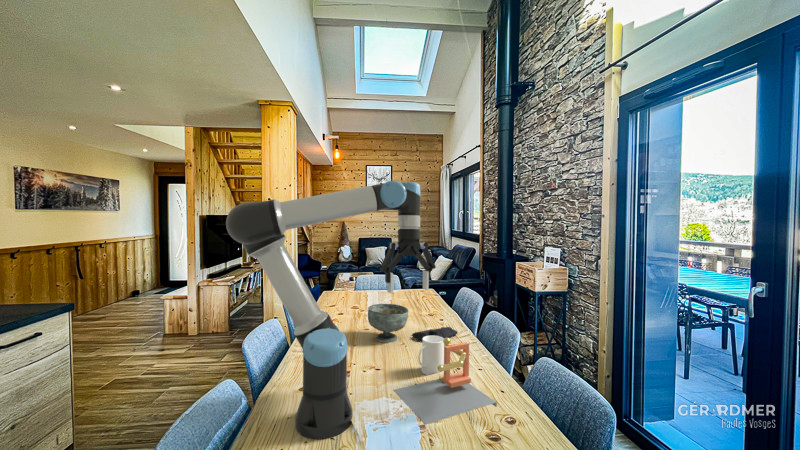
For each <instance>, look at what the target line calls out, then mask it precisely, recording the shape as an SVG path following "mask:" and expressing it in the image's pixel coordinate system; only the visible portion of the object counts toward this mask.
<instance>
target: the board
mask: <svg viewBox="0 0 800 450" xmlns="http://www.w3.org/2000/svg"><path fill="white" fill-rule="evenodd" d="M393 392H394V393H395V394H396V395H397V396H398V397H399V399H401V400H402V401H403V402H404V403H405V404H406V405H407V406H408V407H409V409H410V410H412V411H413V413H414V414H415V415H416V416H417V417H418V418H419V419H420V420H421V421H422V423H424V425H429V424H432V423H435V422H439V421H442V420H445V419H448V418H450V417H451V418H452V417H454V416H457V415H461V414H464V413H467V412H471V411H473V410H477V409H479V408H483V407H486V406H489V405H492V406H494V407H498V406H497V405H498V402H497V401H495V400H494V399H493V398H491V397H490V396H488V395H486V394H485V393H484V392H482V391H481V390H479V389H478V388H476V387H475V386H473V385H472V384H471V383H468V384H465V385H461V386H457V387H453V388H451V387H450V386H448V385H447V384H445V383H444V382H442V381H441V380H440V379H439V378H437V379H434V380H429V381H424V382H421V383H420V382H419V383H417V384H412V385H408V386H404V387H400V388H397V389H393Z"/></svg>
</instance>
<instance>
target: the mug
mask: <svg viewBox="0 0 800 450" xmlns="http://www.w3.org/2000/svg"><path fill="white" fill-rule="evenodd" d="M443 340H444V338H442V337H440V336H434V335H430V336H425V337H423V339H422V342H421V343H422V345H421V346H422V347H421V348H420V350H419V352H418V356H417V360H418V363H419V365H420V367H421V373H422V374H423V375H426V376H431V375H435V374H436V375H437V374H440V373H444V371H442V372H440V371H438V366H439V365H444V343H443ZM421 356H422V357H421Z"/></svg>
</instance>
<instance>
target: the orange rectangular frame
mask: <svg viewBox="0 0 800 450" xmlns="http://www.w3.org/2000/svg"><path fill="white" fill-rule="evenodd" d="M456 350H461V351H463V352H465V353H466V357H465V360H464V363H463V366H462V372H457V373H456V372H455V373H453V374H451V369H450V370H446V371H444V372H443V375H444V377H442V381H443V382H444V383H446V384H447V385H448V386H450V387H451V388H453V387H457V386H461V385H465V384H468V383H469V384H471V383H472V382H471V381H472V380H471V378H470V377H469V375H470V343H468V342H461V343H456V344H450V346H444V364H449V363H451V352H452V351H456Z"/></svg>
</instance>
